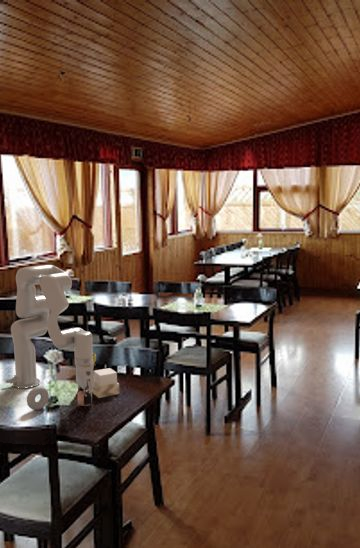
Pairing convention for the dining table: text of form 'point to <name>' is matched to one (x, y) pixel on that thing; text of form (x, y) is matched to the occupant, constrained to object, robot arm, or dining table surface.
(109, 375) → the tower top block
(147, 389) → the dining table surface
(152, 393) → the dining table surface
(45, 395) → the donut
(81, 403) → the terracotta cylinder
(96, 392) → the tower base block
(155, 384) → the dining table surface
